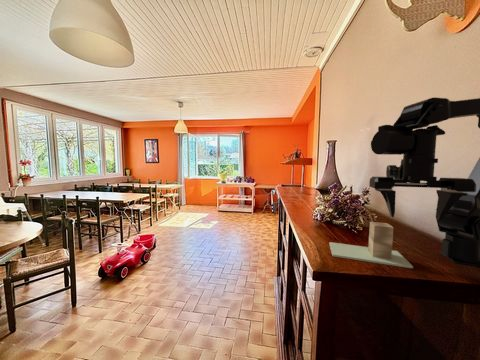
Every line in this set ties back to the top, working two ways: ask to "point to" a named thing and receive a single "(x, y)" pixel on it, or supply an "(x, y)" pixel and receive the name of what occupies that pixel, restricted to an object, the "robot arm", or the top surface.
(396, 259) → the sage mat
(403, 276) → the top surface
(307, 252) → the top surface
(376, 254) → the maple block
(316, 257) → the top surface
